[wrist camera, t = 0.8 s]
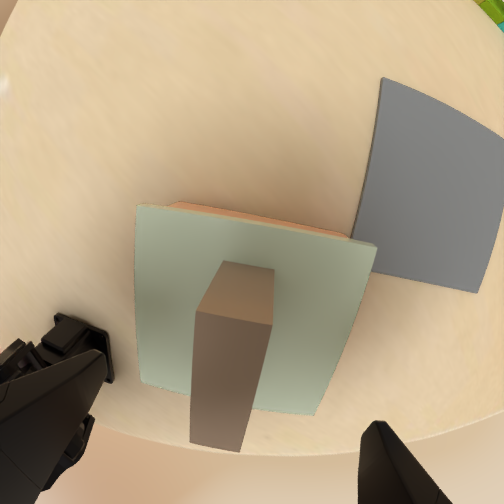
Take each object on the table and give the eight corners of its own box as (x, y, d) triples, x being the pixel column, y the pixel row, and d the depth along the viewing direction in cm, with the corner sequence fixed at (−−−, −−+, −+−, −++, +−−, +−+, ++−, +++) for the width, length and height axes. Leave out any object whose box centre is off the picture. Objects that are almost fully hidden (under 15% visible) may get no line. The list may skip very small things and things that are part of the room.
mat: (474, 291, 18) (477, 293, 18) (343, 264, 18) (344, 266, 18) (509, 145, 14) (512, 145, 14) (381, 78, 14) (383, 77, 14)
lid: (312, 407, 17) (318, 475, 12) (144, 375, 18) (111, 433, 12) (372, 243, 14) (423, 290, 8) (143, 203, 14) (75, 227, 8)
